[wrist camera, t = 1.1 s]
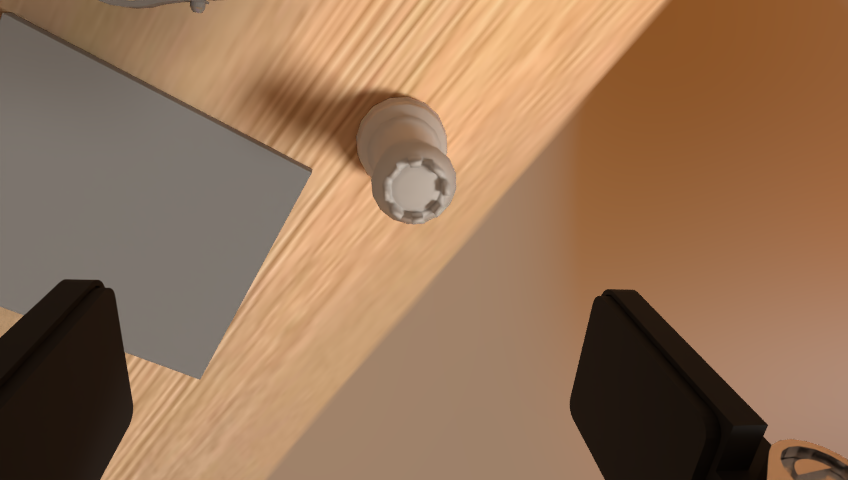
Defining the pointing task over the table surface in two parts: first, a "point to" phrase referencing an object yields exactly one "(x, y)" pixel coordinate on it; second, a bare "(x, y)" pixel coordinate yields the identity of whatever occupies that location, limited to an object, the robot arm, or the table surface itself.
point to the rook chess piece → (406, 159)
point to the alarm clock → (157, 3)
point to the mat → (130, 197)
